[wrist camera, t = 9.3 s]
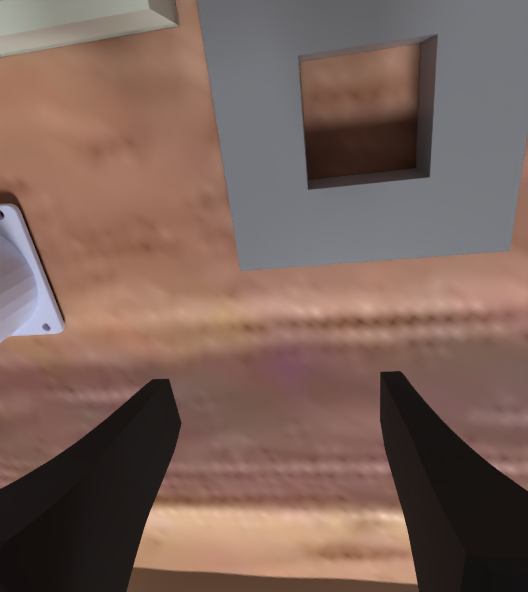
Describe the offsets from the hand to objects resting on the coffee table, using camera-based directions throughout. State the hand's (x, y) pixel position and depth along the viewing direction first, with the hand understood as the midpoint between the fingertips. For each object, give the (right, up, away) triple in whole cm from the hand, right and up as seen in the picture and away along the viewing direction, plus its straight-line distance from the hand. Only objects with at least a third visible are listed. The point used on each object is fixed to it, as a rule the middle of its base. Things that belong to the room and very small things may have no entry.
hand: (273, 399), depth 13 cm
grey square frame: (+4, +11, +4) cm, 13 cm away
